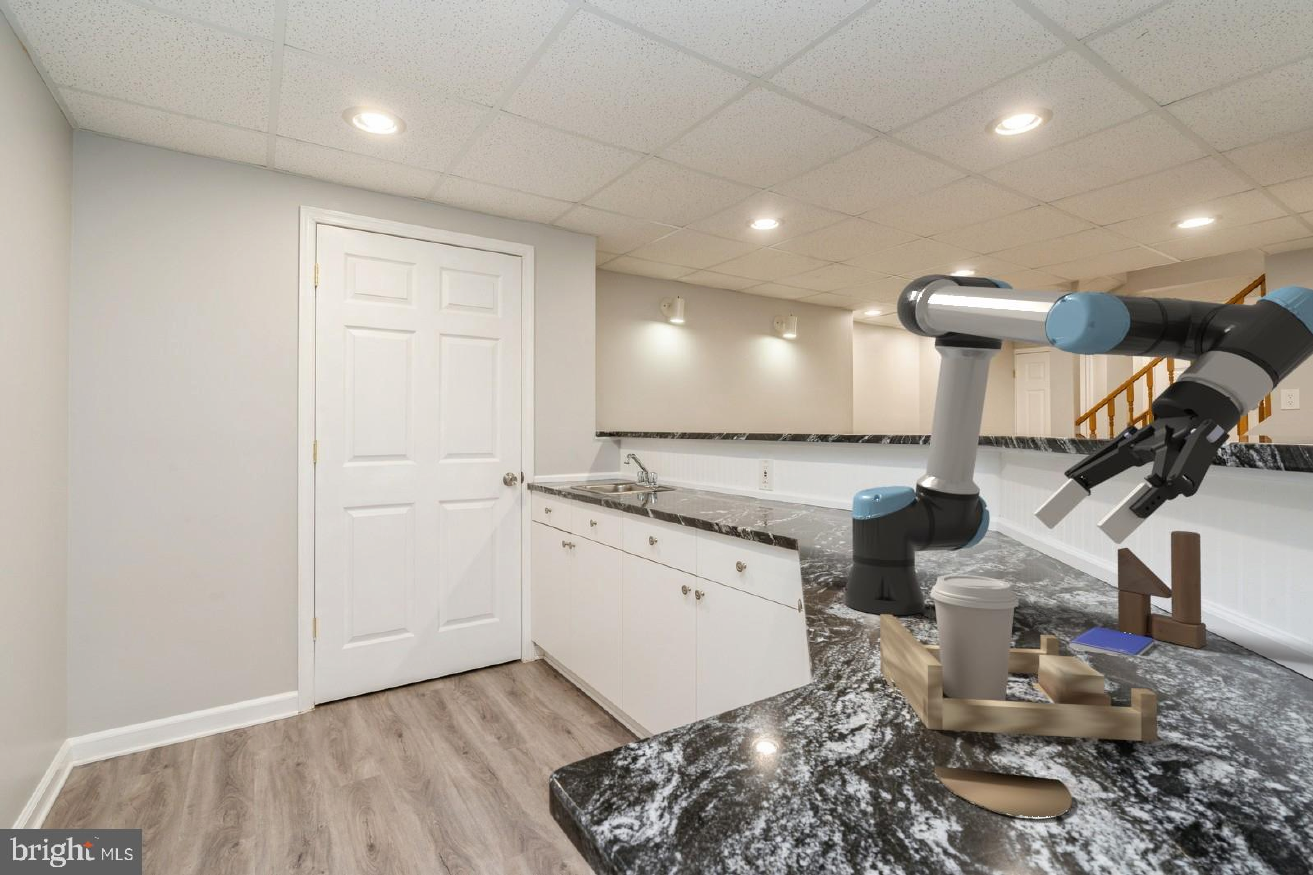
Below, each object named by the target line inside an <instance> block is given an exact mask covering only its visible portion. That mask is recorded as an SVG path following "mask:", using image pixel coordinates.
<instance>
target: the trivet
mask: <svg viewBox="0 0 1313 875" xmlns="http://www.w3.org/2000/svg"><path fill="white" fill-rule="evenodd" d="M934 774H935V776H936V775H937V776H936V778H937V779H938V778H939V780H940V781H941V782H942V783H943V784H944V785H945V786H946V787H948V788H949V789H950V790H951V791H952V792H955V793H956V794H957V795H959V796H961V797H963V798H965V799H967V800H969V801H972V802H975V803H976V804H978V805H980V806H984V807H986V808H988V809H989V810H996V811H999V812H1004V813H1008V814H1011V815H1023V816H1028V817H1029V816H1030V817H1032V816H1033V817H1038V816H1039V817H1046V816H1048V817H1049V816H1050V817H1051V816H1055V815H1060V814H1062V813H1064V812H1065V811H1066V810H1068V809H1069V808H1070V809H1071V807H1072V794H1071V792H1070V790H1069V788H1068V787H1067V785H1066V784H1065V783H1063V781H1062V780H1061V779H1056V778H1047V777H1041V776H1040V777H1039V776H1032V775H1031V776H1030V775H1021V774H1011V773H1004V772H994V771H985V770H979V769H977V770H975V769H970V768H969V769H968V768H967V769H966V768H961V767H959V768H958V767H951V766H950V767H949V766H940V765H934ZM939 780H938V781H939ZM940 781H939V782H940ZM1070 806H1071V807H1070ZM1070 809H1069V810H1070ZM1069 810H1068V811H1069Z"/></svg>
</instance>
